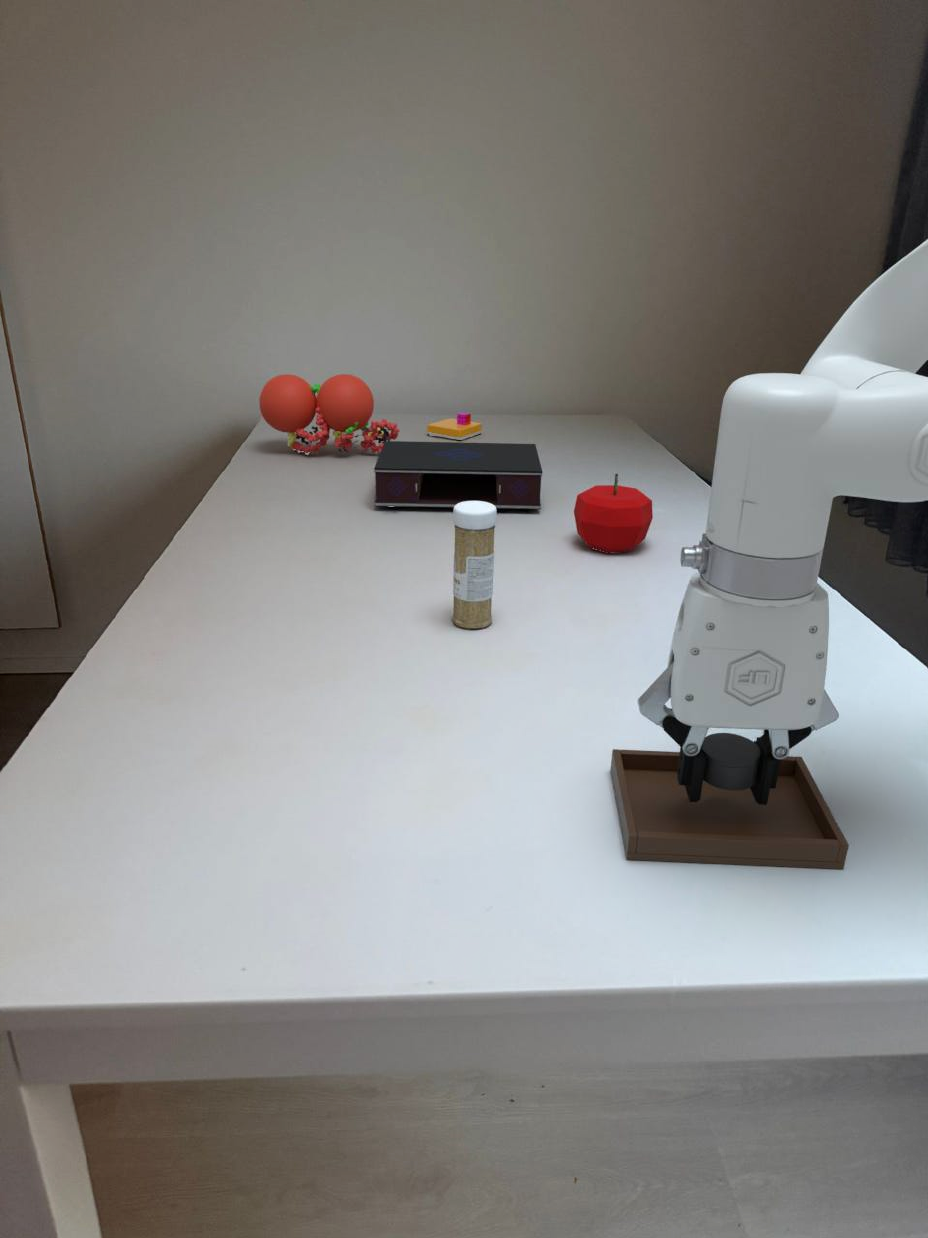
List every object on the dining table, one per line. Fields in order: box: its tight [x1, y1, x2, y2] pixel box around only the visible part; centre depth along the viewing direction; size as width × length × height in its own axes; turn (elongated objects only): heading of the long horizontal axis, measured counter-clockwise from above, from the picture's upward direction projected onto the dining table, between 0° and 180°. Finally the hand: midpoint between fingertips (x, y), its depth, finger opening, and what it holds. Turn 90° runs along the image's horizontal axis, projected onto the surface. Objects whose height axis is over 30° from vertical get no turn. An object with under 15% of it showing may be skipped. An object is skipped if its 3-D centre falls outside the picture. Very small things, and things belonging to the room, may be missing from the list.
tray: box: [609, 748, 850, 870], centre depth 69 cm, size 15×11×2 cm
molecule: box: [258, 373, 400, 455], centre depth 164 cm, size 25×11×15 cm, turn 89°
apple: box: [573, 473, 654, 554], centre depth 122 cm, size 11×11×10 cm
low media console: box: [373, 440, 543, 510], centre depth 143 cm, size 17×25×7 cm
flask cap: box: [702, 732, 761, 791], centre depth 67 cm, size 4×4×2 cm
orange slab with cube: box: [426, 412, 483, 438], centre depth 183 cm, size 8×8×4 cm
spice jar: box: [451, 501, 498, 629], centre depth 98 cm, size 5×5×13 cm
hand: (724, 790), depth 68 cm, fingers closed on flask cap, 4 cm apart
